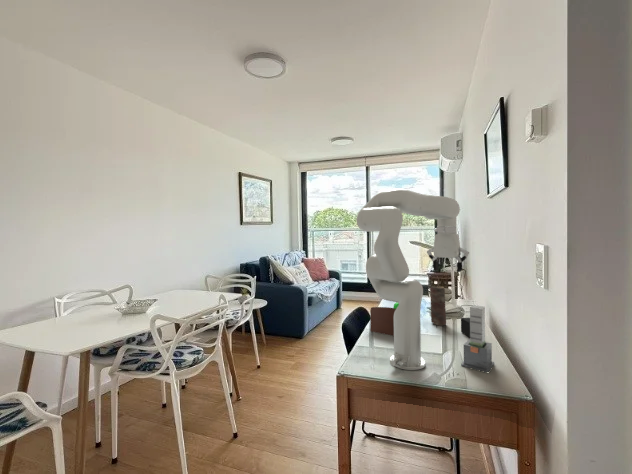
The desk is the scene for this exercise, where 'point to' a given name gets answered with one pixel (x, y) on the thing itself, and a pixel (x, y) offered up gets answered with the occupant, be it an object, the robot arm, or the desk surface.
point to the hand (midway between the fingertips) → (447, 270)
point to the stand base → (478, 357)
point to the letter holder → (382, 320)
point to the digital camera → (465, 326)
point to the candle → (438, 305)
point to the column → (477, 326)
